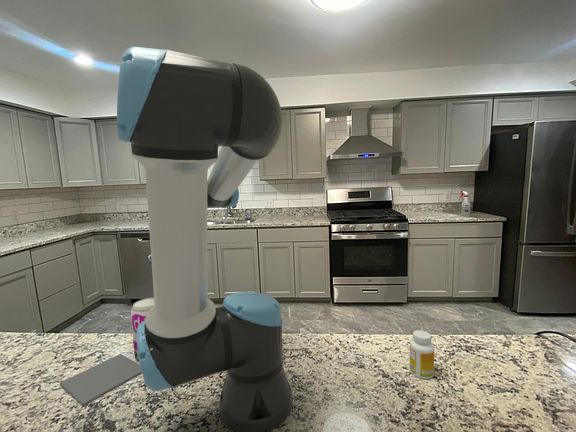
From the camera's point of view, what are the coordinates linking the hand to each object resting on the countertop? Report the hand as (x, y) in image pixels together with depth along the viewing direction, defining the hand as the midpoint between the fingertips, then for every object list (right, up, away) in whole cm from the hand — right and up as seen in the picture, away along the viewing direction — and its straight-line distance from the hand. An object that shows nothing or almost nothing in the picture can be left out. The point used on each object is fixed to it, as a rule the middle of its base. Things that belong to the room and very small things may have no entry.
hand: (172, 305), depth 84 cm
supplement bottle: (+68, -11, -16) cm, 71 cm away
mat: (-10, -13, -15) cm, 23 cm away
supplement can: (-4, -12, -5) cm, 14 cm away
